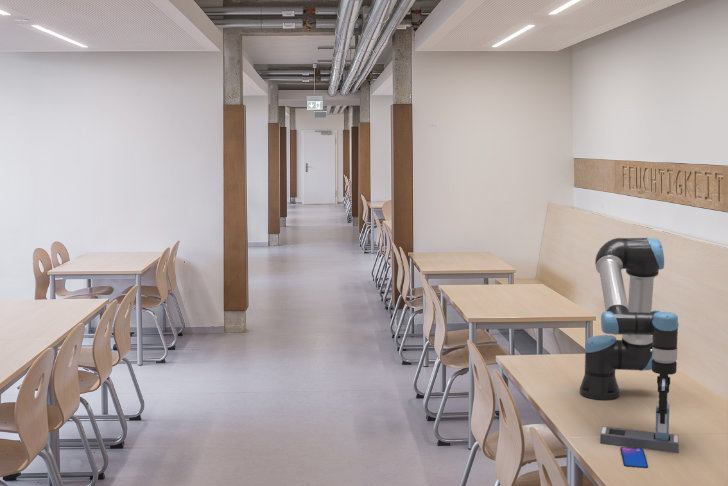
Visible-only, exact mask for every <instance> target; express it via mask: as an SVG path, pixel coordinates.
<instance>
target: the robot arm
mask: <svg viewBox="0 0 728 486" xmlns="http://www.w3.org/2000/svg"><path fill="white" fill-rule="evenodd" d="M664 255H665V254H664V250H663V245H662V242H661V241H660V240H659V239H658V238H653V237H651V238H650V237H617V238H616V237H615V238H613V239H610V240H608V241H607V242H605V243H604V244H603V245H602V246H601V247H600V248H599V250H598V252H597V253H596V255H595V261H594V262H595V263H594V265H595V269H596V271H597V273H599V278H600V282H601V284H600V285H601V289H602V297H603V303H604V308H605V311H603V312H602V313H601V315H600V324H601V331H602V333H603V334H601V335H600V334H599V335H594V336H591V337H588V338H587V339H586V341H585V345H584V375H583V378H582V381H581V383H580V386H579V394H580V395H581V396H582V395H583V396H582V397H584V396H585V398H587V397H588V398H587V399H592V400H601V401H606V400H607V401H609V400H615V399H618V398H619V397H620V388H619V385H618V381H617V378H616V370H617V371H618V370H620V371H621V370H623V371H640V372H642V371H652V372H653V373H655V374H659V375H657V378H656V383H657V392H658V402H659V410H658V411H656V410H655V414H656V413H658V432H660V433H667V403H668V393H669V392H670V385H671V376H673V375H676V373H677V367H678V365H677V364H678V363H677V360H678V337H679V336H678V332H679V331H678V330H679V319H678V315H677V314H676V313H674V312H670V311H660V310H656V309H655V310H652V309H653V307H652V306H653V297H654V296H653V291H654V282H655V281H654V279H655V278H656V277H658V275H659V274H660V273H659V270H660V271H661V270H663V269H664V267H665V256H664ZM622 270H625V273H626V274H627V275H628V276H629V285H628V286H629V287H628V299H627V294H626V289H625V284H624V279H623V273H622ZM615 335H622V336H621V339H617V338H616V336H615ZM669 375H671V376H669Z"/></svg>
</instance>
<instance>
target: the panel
mask: <svg viewBox="0 0 728 486" xmlns="http://www.w3.org/2000/svg"><path fill="white" fill-rule="evenodd" d="M599 439H600V440H599V444H603V445H611V446H612V445H613V446H620V447H633V448H642V449H643V450H652V451H661V452H668V453H677V454H679V446H680V445H679V434H671V433H669V440H668V441H665V440H656V439H655V431H645V430H638V429H637V430H636V429H630V428H629V429H627V428H621V427H620V428H619V427H609V426H602V427H601V431H600V438H599Z"/></svg>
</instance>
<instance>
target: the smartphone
mask: <svg viewBox="0 0 728 486" xmlns="http://www.w3.org/2000/svg"><path fill="white" fill-rule="evenodd" d="M619 450H620V455H621V458H622V459H621V460H622V465H623V466H624V467H627V468H638V469H639V468H641V469H649V464H648V461H647V457H646V453H645V449H643V448H635V447H627V446H620V448H619Z"/></svg>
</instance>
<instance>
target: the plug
mask: <svg viewBox="0 0 728 486" xmlns="http://www.w3.org/2000/svg"><path fill="white" fill-rule="evenodd" d="M670 407H671V406H670V402H669V403H668V402H667V433H660V432H658V413H656V411H658V410H659V401H658V402H656V405H655V431H654V432H655V439H656V440H665V441H668V440H669V434H670V431H669V430H670Z"/></svg>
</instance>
